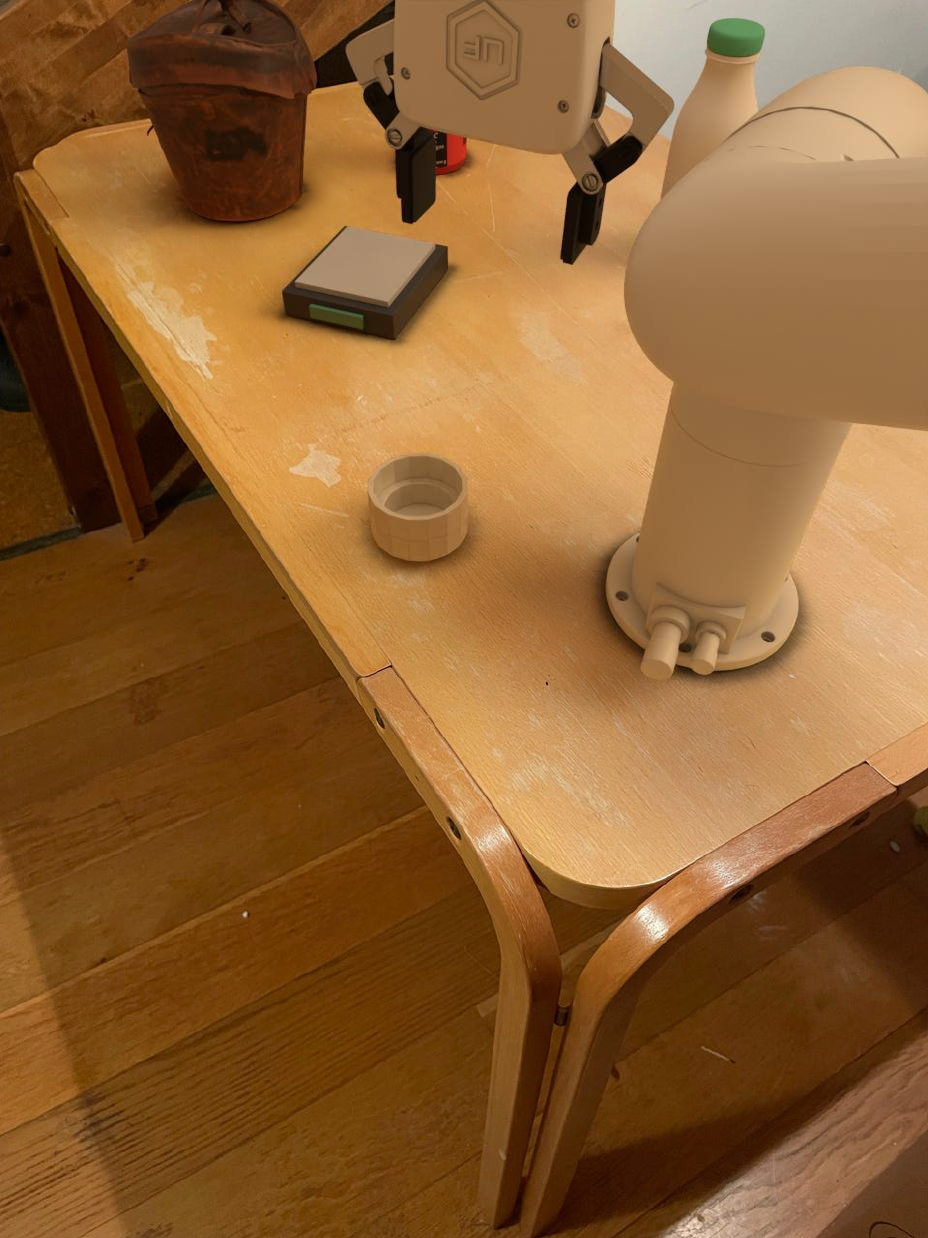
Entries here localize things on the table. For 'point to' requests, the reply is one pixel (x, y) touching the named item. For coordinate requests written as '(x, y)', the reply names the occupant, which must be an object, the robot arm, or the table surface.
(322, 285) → the scale
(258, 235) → the table surface
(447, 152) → the canned food
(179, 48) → the brown flower pot
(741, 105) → the milk bottle
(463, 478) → the small cup
